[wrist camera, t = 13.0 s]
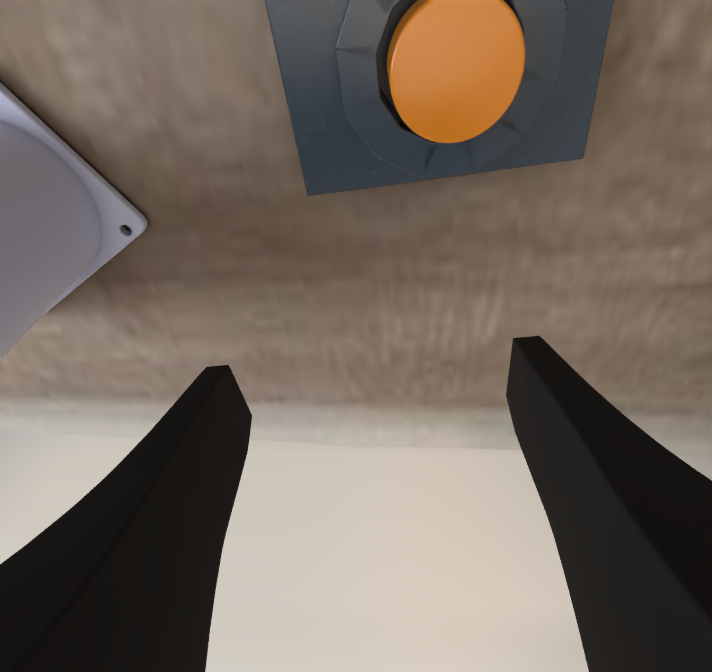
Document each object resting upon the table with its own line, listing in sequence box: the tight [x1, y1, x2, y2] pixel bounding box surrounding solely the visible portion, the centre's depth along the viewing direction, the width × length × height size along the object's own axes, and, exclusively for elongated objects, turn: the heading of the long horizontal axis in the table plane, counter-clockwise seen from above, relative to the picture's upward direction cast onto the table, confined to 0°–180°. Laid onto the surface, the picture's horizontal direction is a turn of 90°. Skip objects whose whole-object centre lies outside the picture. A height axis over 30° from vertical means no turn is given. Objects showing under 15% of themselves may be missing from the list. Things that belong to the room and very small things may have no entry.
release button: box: [387, 0, 525, 143], centre depth 12 cm, size 4×4×2 cm
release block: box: [265, 0, 614, 196], centre depth 14 cm, size 10×8×4 cm
